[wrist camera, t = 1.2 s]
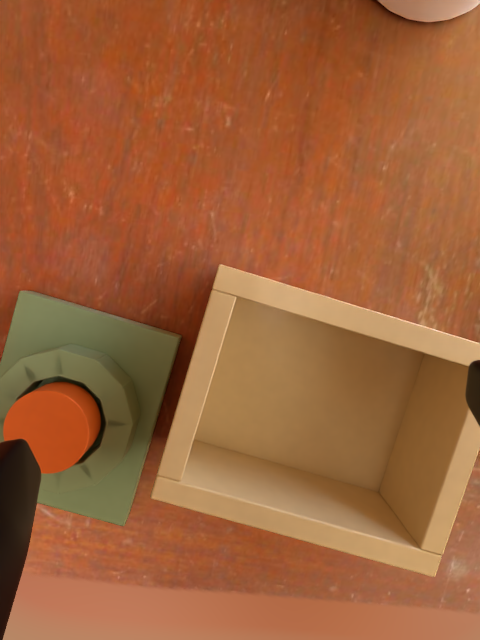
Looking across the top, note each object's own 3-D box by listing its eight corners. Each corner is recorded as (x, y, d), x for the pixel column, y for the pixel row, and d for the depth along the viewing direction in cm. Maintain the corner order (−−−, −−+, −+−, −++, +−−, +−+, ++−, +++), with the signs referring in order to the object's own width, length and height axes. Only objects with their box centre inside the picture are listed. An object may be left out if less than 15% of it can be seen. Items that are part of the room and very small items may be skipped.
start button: (89, 467, 20) (76, 483, 18) (13, 446, 20) (-7, 460, 18) (110, 394, 20) (99, 404, 18) (33, 371, 20) (14, 380, 18)
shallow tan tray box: (384, 506, 23) (435, 578, 18) (169, 445, 23) (149, 499, 17) (441, 336, 23) (513, 353, 17) (221, 270, 22) (219, 263, 16)
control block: (129, 514, 23) (114, 548, 20) (-19, 473, 23) (-57, 501, 20) (182, 335, 22) (174, 342, 19) (30, 290, 22) (-1, 290, 19)
